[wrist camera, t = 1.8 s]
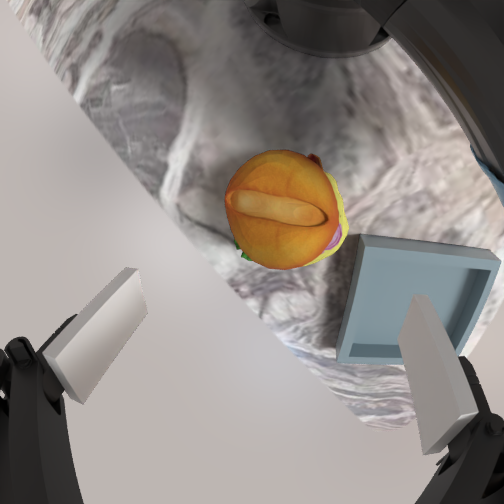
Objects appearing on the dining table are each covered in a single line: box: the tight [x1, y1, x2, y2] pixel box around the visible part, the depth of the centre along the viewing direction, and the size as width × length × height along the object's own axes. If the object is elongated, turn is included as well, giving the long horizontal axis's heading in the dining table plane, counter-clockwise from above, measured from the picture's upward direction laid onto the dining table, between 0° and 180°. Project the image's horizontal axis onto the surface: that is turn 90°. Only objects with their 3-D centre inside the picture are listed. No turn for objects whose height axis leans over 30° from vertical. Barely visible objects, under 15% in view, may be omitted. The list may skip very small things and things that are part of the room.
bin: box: [336, 234, 501, 365], centre depth 28 cm, size 15×17×3 cm
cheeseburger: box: [225, 150, 349, 270], centre depth 24 cm, size 10×11×10 cm
